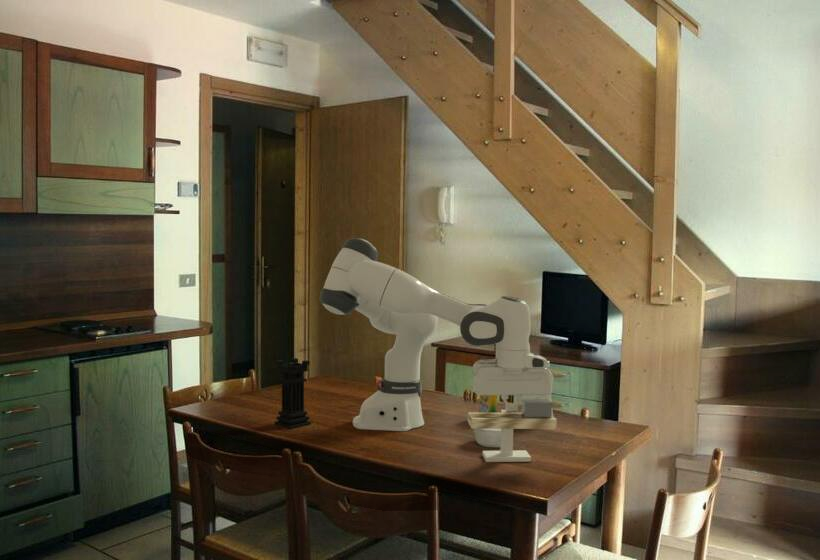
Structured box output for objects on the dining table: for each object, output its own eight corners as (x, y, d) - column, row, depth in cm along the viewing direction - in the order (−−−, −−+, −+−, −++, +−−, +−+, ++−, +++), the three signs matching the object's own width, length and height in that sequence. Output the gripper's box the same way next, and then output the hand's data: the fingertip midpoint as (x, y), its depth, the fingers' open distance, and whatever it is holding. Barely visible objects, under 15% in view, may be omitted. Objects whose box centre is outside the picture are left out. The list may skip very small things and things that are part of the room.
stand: (486, 461, 199) (487, 413, 198) (482, 455, 205) (483, 408, 204) (530, 461, 200) (532, 413, 199) (525, 454, 206) (526, 407, 205)
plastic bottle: (552, 425, 236) (554, 362, 235) (531, 424, 237) (532, 361, 236) (553, 420, 242) (554, 359, 241) (531, 419, 244) (533, 358, 242)
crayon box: (478, 418, 244) (479, 383, 244) (487, 417, 245) (487, 382, 245) (488, 423, 238) (489, 387, 237) (497, 423, 239) (497, 387, 238)
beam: (471, 428, 192) (472, 418, 191) (467, 421, 199) (467, 411, 199) (556, 428, 193) (556, 418, 193) (548, 421, 201) (549, 411, 200)
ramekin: (520, 445, 215) (520, 427, 214) (490, 451, 209) (490, 432, 208) (495, 435, 224) (495, 418, 224) (465, 441, 218) (465, 423, 218)
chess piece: (274, 424, 234) (274, 360, 232) (294, 419, 240) (295, 357, 238) (290, 429, 228) (290, 364, 227) (311, 424, 234) (311, 361, 233)
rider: (524, 421, 194) (525, 402, 194) (521, 417, 198) (521, 399, 198) (551, 421, 194) (551, 402, 194) (547, 417, 198) (548, 399, 198)
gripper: (475, 361, 191) (474, 414, 192) (553, 361, 193) (552, 414, 194) (471, 357, 197) (470, 408, 198) (547, 356, 199) (545, 408, 200)
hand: (511, 411), depth 196 cm, fingers closed
